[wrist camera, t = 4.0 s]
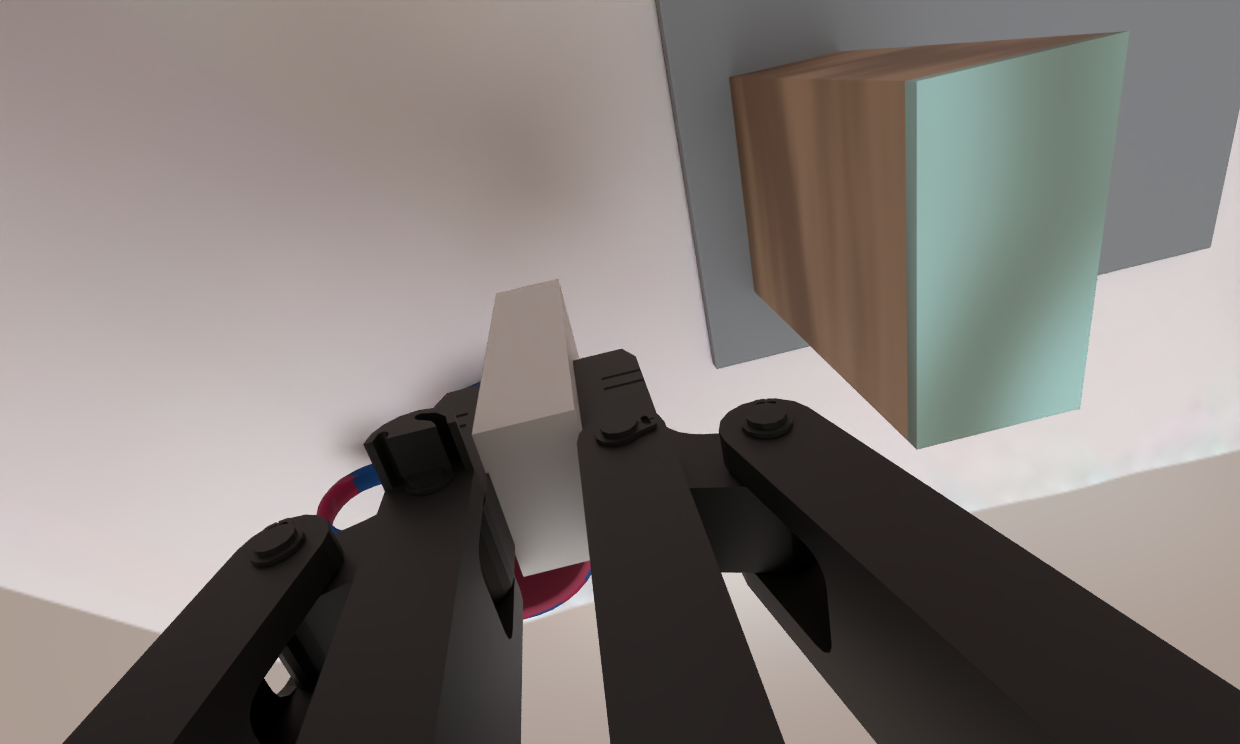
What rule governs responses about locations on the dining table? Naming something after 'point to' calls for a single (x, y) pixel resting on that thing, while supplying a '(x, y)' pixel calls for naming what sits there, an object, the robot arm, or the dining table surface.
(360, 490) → the mug
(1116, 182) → the mat
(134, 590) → the dining table surface
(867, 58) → the block
